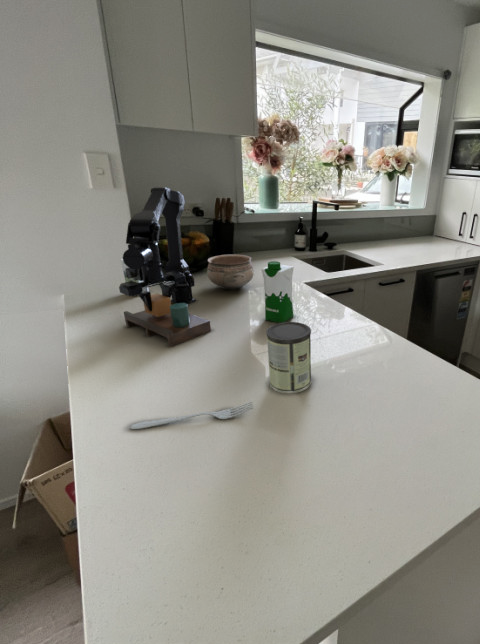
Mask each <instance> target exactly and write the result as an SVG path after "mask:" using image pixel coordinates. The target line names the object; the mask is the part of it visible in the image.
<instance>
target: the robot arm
mask: <svg viewBox="0 0 480 644" xmlns="http://www.w3.org/2000/svg"><path fill="white" fill-rule="evenodd" d="M185 202H186V201H185V197H184V195H183V194H182V193H181V192H180V191H175V190H172V189H170V188H168V187H163V186H162V187H159V186H156V187H154V186H153V187H152V188H151V189H150V194H149V197H148V198H147V200H146V202H145V204H144V206H143V208H142V210H141V211H140V212H138V213H135V214H134V215H133V216H131V218H130V220H129V222H128V225H127V229H126V230H127V231H126V238H125V244H126V245H127V249H126V250H125V251H124V252H123V254H122V259H123V261H124V263H125V265H126V266H128V267H129V268H126V269H125V271H126V275H127V278H128V279H130V278H134V281H136V280H138V279H139V281H143V282H141V283H136V282H133V281H129V282H122V283H120V284H119V287H118V289H119V293H120V294H123V295H126V296H128V297H133V296H138V297H139V298H140V299H141V301H142V302H143V305H144V304H145V305H146V307H147V308H148V310H149V311H152V302H151V295H152V294H151V292H150V291H149V292H148V291H147V288H152V287H156V286H159V287H160V289H161V295H163V296H166V297H169V298H170V300H171V303H173V304H176V303H186V304H187V305H188V304H190V303H193V302H197V301H196V299H195V298H194V297H193V296H194V295H193V289H192V287H195V278H194V276H193V274H192V272H191V271H190V268H189V265H188V263H187V262H186V261H185V260H184V254H183V252H184V251H183V243H182V242H183V241H182V230H181V219H180V218H181V216H182V215H183V214H184V212H185ZM161 215H162V216H163V218H164V220H165V221H164V222H165V231H166V241H167V253H168V261H167V263H166V264H164V263H162V261H161V256H160V249H159V245H158V244H159V242H160V240H159V239H160V233H161V225H160V223H159V220H160V218H161ZM163 268H164V273H163Z"/></svg>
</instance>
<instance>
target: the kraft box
mask: <svg viewBox="0 0 480 644" xmlns="http://www.w3.org/2000/svg"><path fill="white" fill-rule="evenodd" d="M171 300H172V299H171V298H169V297H166V296H163V295H162V293H158V292H157V293H153V294H151V302H152V311H149V310H148V308H147V307H146V305H145V304H144V303H143V306H144V310H145V312H147V313H149V314H152V315H154V316H157V317H160V316H163V315H166V314H169V313H171V312H170V306H171V305H172V302H171Z"/></svg>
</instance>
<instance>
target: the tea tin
mask: <svg viewBox="0 0 480 644" xmlns="http://www.w3.org/2000/svg"><path fill="white" fill-rule="evenodd" d="M188 305H189V304H188V303H187V304H186V303H173V304H171V306H170V312H171V319H172V325H173V326H174V327H185V326H188V325H189V324H190V318H189V313H190V311H189V306H188Z"/></svg>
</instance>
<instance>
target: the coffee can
mask: <svg viewBox="0 0 480 644" xmlns="http://www.w3.org/2000/svg"><path fill="white" fill-rule="evenodd" d="M265 333H266V340H267V355H268V356H267V357H268V372H269V373H268V374H269V386H270V388H271V389H272V390H273V391H275V392H276V393H280V394H291V395H292V394H298V393H300V392H303V391H306V390H307V389H308V388H309V387H310V386H311V384H312V355H311V354H312V353H311V347H312V345H311V340H312V339H311V335H312V329H311V327H310V326H309V325H307V324H305V323H302V322H297V321H286V322H283V323H278V322H277V323H275V324H272V325H270V326H269V327H267V329H266V331H265Z"/></svg>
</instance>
